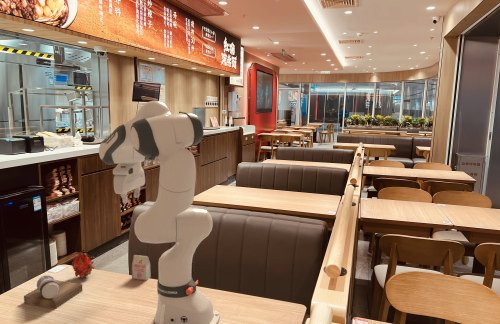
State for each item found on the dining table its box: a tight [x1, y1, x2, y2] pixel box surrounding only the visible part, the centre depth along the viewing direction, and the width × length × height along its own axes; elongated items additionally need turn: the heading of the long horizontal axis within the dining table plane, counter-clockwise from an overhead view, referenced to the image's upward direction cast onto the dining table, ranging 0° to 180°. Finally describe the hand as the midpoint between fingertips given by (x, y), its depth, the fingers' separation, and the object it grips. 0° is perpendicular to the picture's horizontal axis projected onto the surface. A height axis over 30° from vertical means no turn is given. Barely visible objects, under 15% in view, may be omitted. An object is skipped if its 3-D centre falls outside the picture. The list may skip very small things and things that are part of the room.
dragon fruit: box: [71, 249, 95, 279], centre depth 157 cm, size 8×8×12 cm
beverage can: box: [36, 274, 60, 299], centre depth 136 cm, size 6×7×12 cm
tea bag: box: [131, 254, 152, 282], centre depth 158 cm, size 4×7×10 cm, turn 76°
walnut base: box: [23, 279, 83, 310], centre depth 141 cm, size 14×14×4 cm
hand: (131, 199), depth 155 cm, fingers open, 8 cm apart
